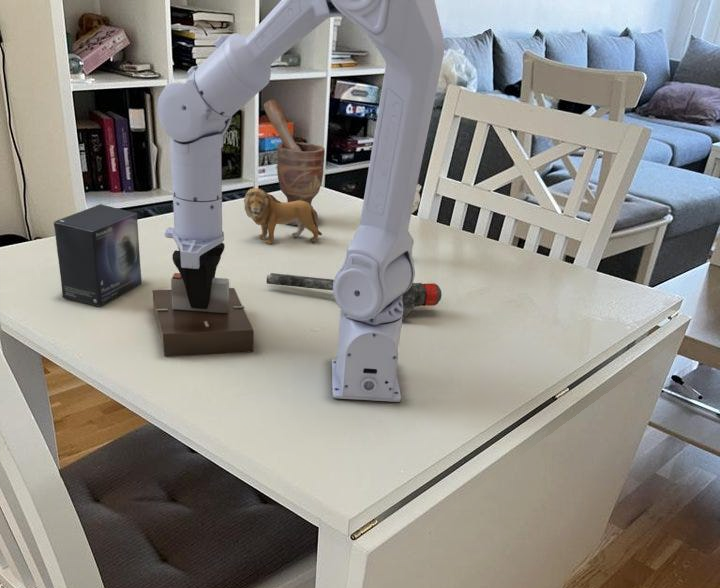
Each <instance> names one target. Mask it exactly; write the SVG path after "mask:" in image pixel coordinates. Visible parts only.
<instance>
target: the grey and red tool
mask: <svg viewBox="0 0 720 588" xmlns="http://www.w3.org/2000/svg"><path fill="white" fill-rule="evenodd" d="M333 282H334V278H332V279H331V278H323V277H312V276H302V275H293V274H284V273H275V272H274V273H273V272H270V274H267V276H266V285H276V286H284V287H295V288H304V289H314V290H322V291H332V292H333ZM442 294H443V292H442V289H441V288H440V286H439V285H438V284H436V283H435V282H434V283H433V282H432V283H422V282H413V284H412V286H411V287H410V289H409V290H408V291H407V292H406V293H404V294H403V296H402V302H403V317H402V320H403V319H404V318H406V317H408V315H409V314H410V313H411V312H412V310H413V309H414V307H415V308H416V307H417V308H418V307H430V306H431V307H433V306H436V305H438V304H439V302H440V301H441V300H442V297H443V295H442Z"/></svg>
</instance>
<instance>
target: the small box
mask: <svg viewBox="0 0 720 588" xmlns="http://www.w3.org/2000/svg"><path fill="white" fill-rule="evenodd" d="M53 228H54V236H55V244H56V253H57V259H58V268H59V275H60V285H61V286H60V287H61V296H62V298H64V299H68V300H73V301H76V302H81V303H84V304H88V305H92V306H97V307H101V306H103V305H105V304H107V303H109V302H110V301H113V300H114V299H116V298H118V297H119V296H121V295H123V294H125V293H127V292H130V290H133V289H134V288H137V287H138V286H140V285H142V269H141V268H142V267H141V256H140V255H141V254H140V239H139V223H138V212H135V211H130V210H125V209H121V208H117V207H113V206H110V205H106V204H101V203H100V204H97V205H95V206H92V207H89V208H87V209H84V210H81V211H79V212H76V213H73V214H70V215H68V216H65V217H62V218H60V219H57V220H54V221H53Z"/></svg>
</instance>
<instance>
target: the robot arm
mask: <svg viewBox="0 0 720 588" xmlns="http://www.w3.org/2000/svg"><path fill="white" fill-rule="evenodd" d="M335 17H346V19H348V20H349V21H350V22H352V23H353V24H354V25H355V26H356V27H358V28H359V29H361V30H362V31H363V32H364V33H366V34H367V36H368V37H369V38H370V40H371V42H372V43H373V45H374V46H375V47H376V49H377V50H378V52H379V54H380V55H381V57H382V58H383V59H384V61H385V68H384V73H383V74H384V75H383V79H382V86H381V93H380V97H379V105H378V110H377V117H376V124H375V128H374V129H375V130H374V133H373V134H374V135H373V142H372V147H371V153H370V158H369V159H370V160H369V166H368V170H367V178H366V184H365V190H364V196H363V203H362V208H361V213H360V220H359V225H358V228H357V229H356V231H355V233H354V235H353V237H352V239H351V241H350V243H349V244H348V246H347V249H346V253H345V258H344V262H343V264H342V266H341V267H340V269H339V270H338V271H337V273H336V274H335V276H334V278H333V280H334V282H333V291H332V294H333V298H334V300H335V303H336V305H337V306H338V308H339V309H340V312H339V313H340V314H339V324H338V335H337V336H338V337H337V348H336V349H337V350H336V358H333V359H332V360H331V387H332V391H331V392H332V397H333V398H334V399H339V400H340V399H341V400H342V399H343V400H357V401H373V402H375V401H376V402H391V403H399V402H401V400H402V393H401V390H400V389H401V388H400V385H399V379H398V373H397V368H398V362H399V361H398V359H399V347H400V346H399V345H400V338H401V331H402V323H403V319H402V317H403V302H402V296H403V294H404V293H406V292H407V291H408V290H409V289H410V287H411V286H412V284H413V283H414V281H415V278H416V277H415V276H416V269H415V264H414V259H413V249H414V248H413V247H414V244H415V241H414V238H413V237H412V234H411V233H410V231H409V228H410V222H411V217H412V214H413V213H412V208H413V203H414V198H415V193H416V188H417V184H419V178H420V172H421V168H422V163H423V158H424V154H425V148H426V143H427V139H428V134H429V129H430V124H431V120H432V115H433V109H434V105H435V100H436V95H437V90H438V85H439V80H440V75H441V71H442V67H443V66H442V65H443V60H444V56H445V39H444V34H443V30H442V26H441V22H440V18H439V17H440V16H439V13H438V9H437V5H436V1H435V0H280V1H279V2H278V3H277V4H276V6H274V7H273V8H272V10H271V11H270V12H269V13H268V14H267V15H266V16H265V17H264V18H263V20H261V22H260V23H258V25H257V26H256V27H255V28H254V29H253V30H252V31H251V33H250V34H249V35H246V34H242V33H237V32H234V33H232V34H230V35H229V34H224V35H223V34H222V35H220V36H219V37H218V38H217V39H216V40H214V44H213V45H214V46H215V50H213V52H212V53H211V54H210V55H208V57H207V58H205V60H204V61H203V62H202V63H200V65H194V66H191V67H190V68H189V69H188V71H187V75H188V76H187V78H186V81H185V82H181V81H174V82H169V83H167V84H166V85H164V86H165V87H164V88H163V90H162V92H161V93H160V95H159V97H158V100H157V117H158V120H159V123H160V125H161V127H162V129H163V131H164V132H165V134H167V135H168V136H169V148H170V167H171V187H172V188H171V189H172V190H171V191H172V206H173V207H172V208H173V226H174V227H170V226H169V227H166V228H165V229H164V237H165V238H166V239H173V240H174V242H175V244H176V246H177V249H178V250H177V249H176V250H175V249H174V251H173V253H172V255H171V256H172V257H171V258H172V262H173V264H174V266H175V268H176V269H177V270H178V273H180V274H181V276H182V279H183V281H184V285H185V288H186V292H187V296H188V300H189V303H190V306H191V308H196V309H207V308H208V305H209V301H210V295H211V287H212V280H213V278H216V272H217V268H218V265H219V263H220V262H221V258H222V257H221V256H222V255H223V253H224V250H225V247H226V245H225V243H224V241H225V232H224V231H223V184H222V183H223V182H222V181H223V177H222V173H223V172H222V169H223V168H222V149H223V148H224V136H225V133H226V132H227V130H228V129H229V127H230V125H231V122H232V117H233V116H234V115H235V114H236V113H238V112H239V110H240V109H242V108H243V107H244V106H245V105H246V104H247V103H248V102H249V101H251V100H252V99H253V98H254V97H255V96H256V95H258V93H260V92H261V91H262V90H263V89H264V88H265V87H266V86H268V85H269V83H270V80H271V76H272V74H271V73H272V64H273V63H274V62H276V61H277V60H278V59H280V58H281V57H282V56H283V55H284V54H285V53H287V52H288V51H289V50H290V49H292V48H293V47H294V46H295V45H297V44H298V43H299V42H300V41H301V40H303V39H304V38H305V37H307V36H308V35H309V34H310V33H311V32H313V31H314V30H316V28H318V27H319V26H320V25H322V23H324V22H325V21H326V20H327V19H328V20H329V18H335ZM411 213H412V214H411Z"/></svg>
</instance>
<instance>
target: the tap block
mask: <svg viewBox="0 0 720 588" xmlns="http://www.w3.org/2000/svg"><path fill="white" fill-rule="evenodd" d="M151 292H152V302H153V303H152V305H153V313H154V317H155V323H156V327H157V330H158V331H157V332H158V334H159V340H160V344H161V349H162V351H163V356H164V357H178V356H181V357H183V356H199V355H217V354H218V355H219V354H237V353H252V352H254V333H255V332H254V329H253V326H252V324H251V321H250V319H249V317H248V315H247V313H246V310H245V305H243V304H242V302H241V300H240V298H239V296H238V293H237V291H236V289H235V287H229V310H228V313H216V312H203V311H190V310H178V309H173V308H172V291H171V289H152V291H151Z"/></svg>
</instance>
